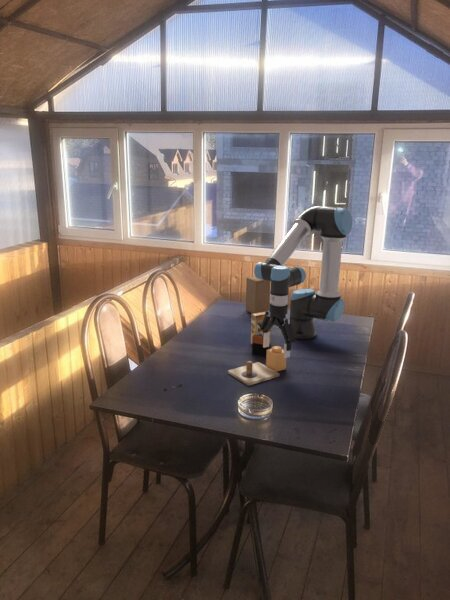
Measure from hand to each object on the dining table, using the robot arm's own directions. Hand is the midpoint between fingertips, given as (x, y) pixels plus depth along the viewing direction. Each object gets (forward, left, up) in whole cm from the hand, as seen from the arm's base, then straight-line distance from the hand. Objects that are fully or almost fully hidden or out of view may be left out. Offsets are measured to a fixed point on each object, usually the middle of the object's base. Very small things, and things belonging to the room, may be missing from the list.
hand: (276, 352), depth 210 cm
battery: (-4, -16, -8) cm, 18 cm away
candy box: (-12, -26, -8) cm, 30 cm away
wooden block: (-41, -66, -8) cm, 78 cm away
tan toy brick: (0, 0, -8) cm, 8 cm away
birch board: (+12, 0, -8) cm, 14 cm away
